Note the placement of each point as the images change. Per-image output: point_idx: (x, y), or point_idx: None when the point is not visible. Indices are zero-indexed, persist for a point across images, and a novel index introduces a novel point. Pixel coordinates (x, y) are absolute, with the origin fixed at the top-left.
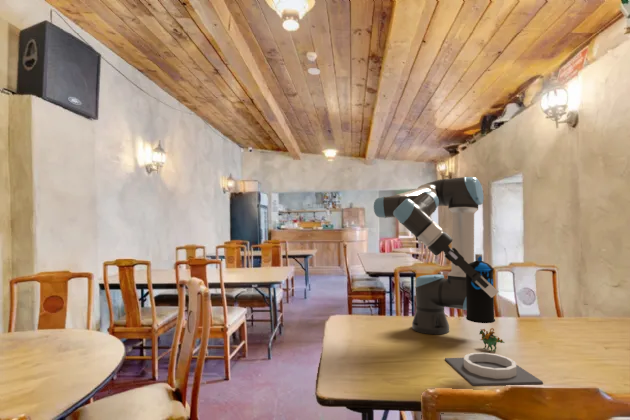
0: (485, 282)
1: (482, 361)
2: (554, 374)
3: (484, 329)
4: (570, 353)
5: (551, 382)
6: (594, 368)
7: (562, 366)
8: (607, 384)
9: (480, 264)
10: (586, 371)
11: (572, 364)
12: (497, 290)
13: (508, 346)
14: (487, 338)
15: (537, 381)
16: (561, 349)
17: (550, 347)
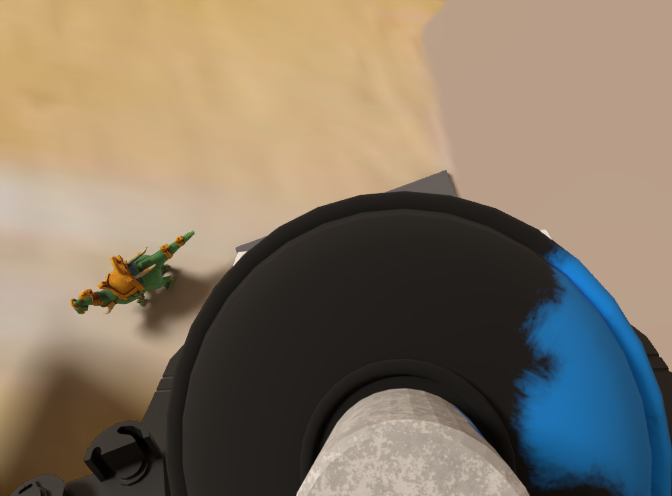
0: (664, 362)
1: None
2: (351, 122)
3: (84, 292)
4: (140, 33)
5: (423, 145)
6: (266, 3)
7: (271, 83)
8: (391, 5)
9: (609, 453)
10: (298, 30)
11: (245, 52)
12: (550, 238)
13: (100, 210)
14: (139, 288)
15: (450, 185)
16: (104, 49)
17: (89, 77)
